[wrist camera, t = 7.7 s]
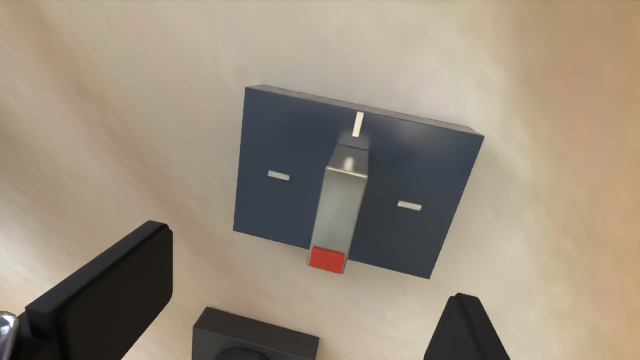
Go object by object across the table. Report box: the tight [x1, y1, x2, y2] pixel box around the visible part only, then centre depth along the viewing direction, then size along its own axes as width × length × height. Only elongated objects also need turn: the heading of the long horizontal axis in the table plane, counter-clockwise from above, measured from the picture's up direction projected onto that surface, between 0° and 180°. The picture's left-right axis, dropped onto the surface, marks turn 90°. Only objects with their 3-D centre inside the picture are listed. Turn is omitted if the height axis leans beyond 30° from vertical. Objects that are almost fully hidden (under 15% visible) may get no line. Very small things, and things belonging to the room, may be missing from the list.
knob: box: [307, 145, 369, 274], centre depth 17 cm, size 6×2×5 cm, turn 170°
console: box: [233, 85, 484, 279], centre depth 20 cm, size 14×10×3 cm
